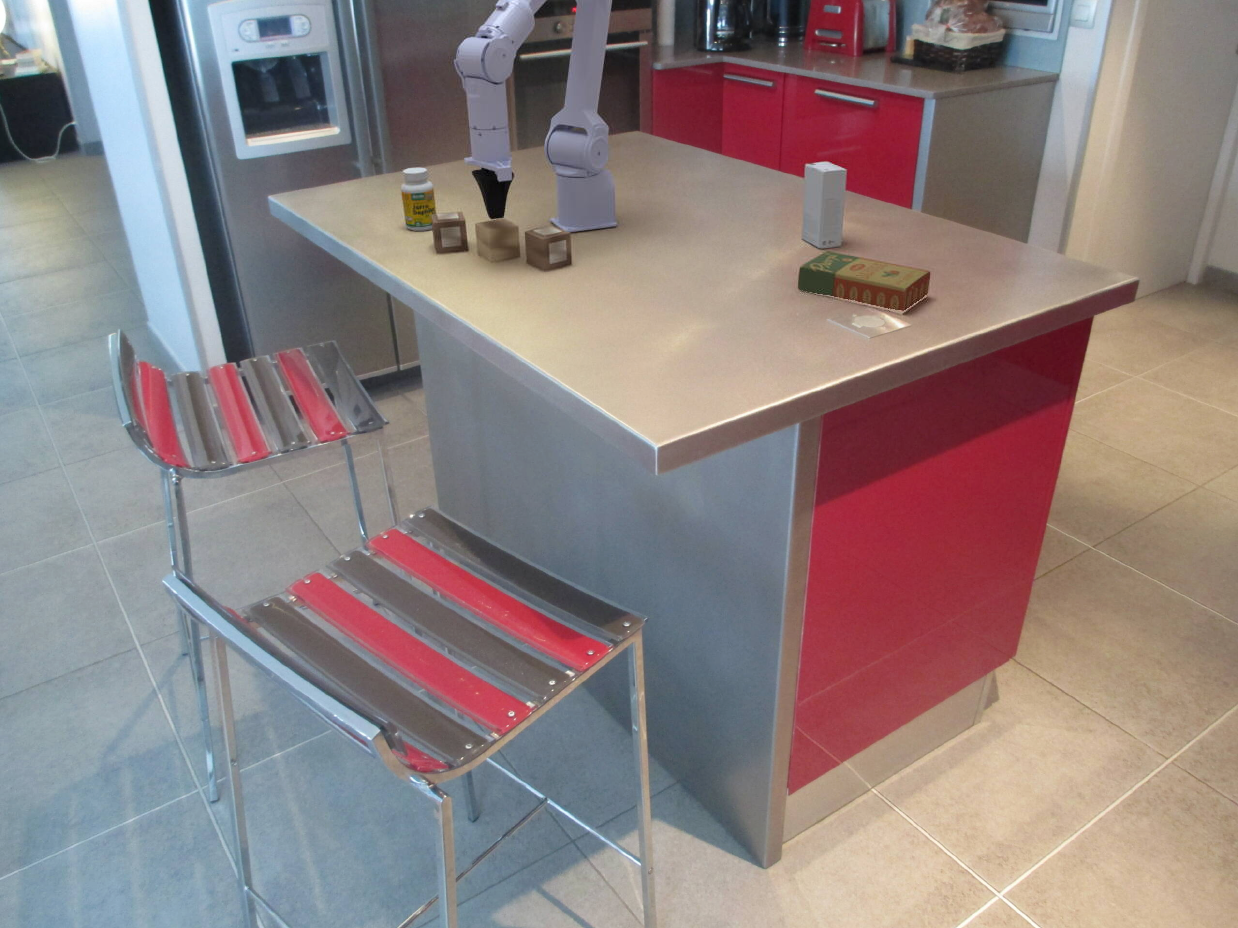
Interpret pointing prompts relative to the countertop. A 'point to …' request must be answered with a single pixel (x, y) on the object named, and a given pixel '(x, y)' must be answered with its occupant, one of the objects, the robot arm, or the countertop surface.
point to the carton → (864, 280)
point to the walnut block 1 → (449, 232)
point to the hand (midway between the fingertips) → (496, 217)
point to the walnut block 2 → (548, 248)
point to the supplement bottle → (417, 199)
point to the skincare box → (823, 204)
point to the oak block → (497, 240)
